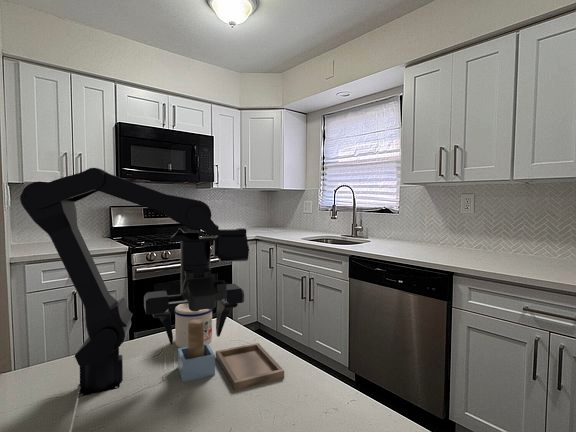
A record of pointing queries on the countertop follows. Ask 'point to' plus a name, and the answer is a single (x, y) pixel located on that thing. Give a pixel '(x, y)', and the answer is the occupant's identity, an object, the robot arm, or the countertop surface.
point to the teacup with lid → (186, 315)
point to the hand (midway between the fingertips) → (195, 339)
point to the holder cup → (196, 364)
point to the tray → (248, 366)
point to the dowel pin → (195, 338)
